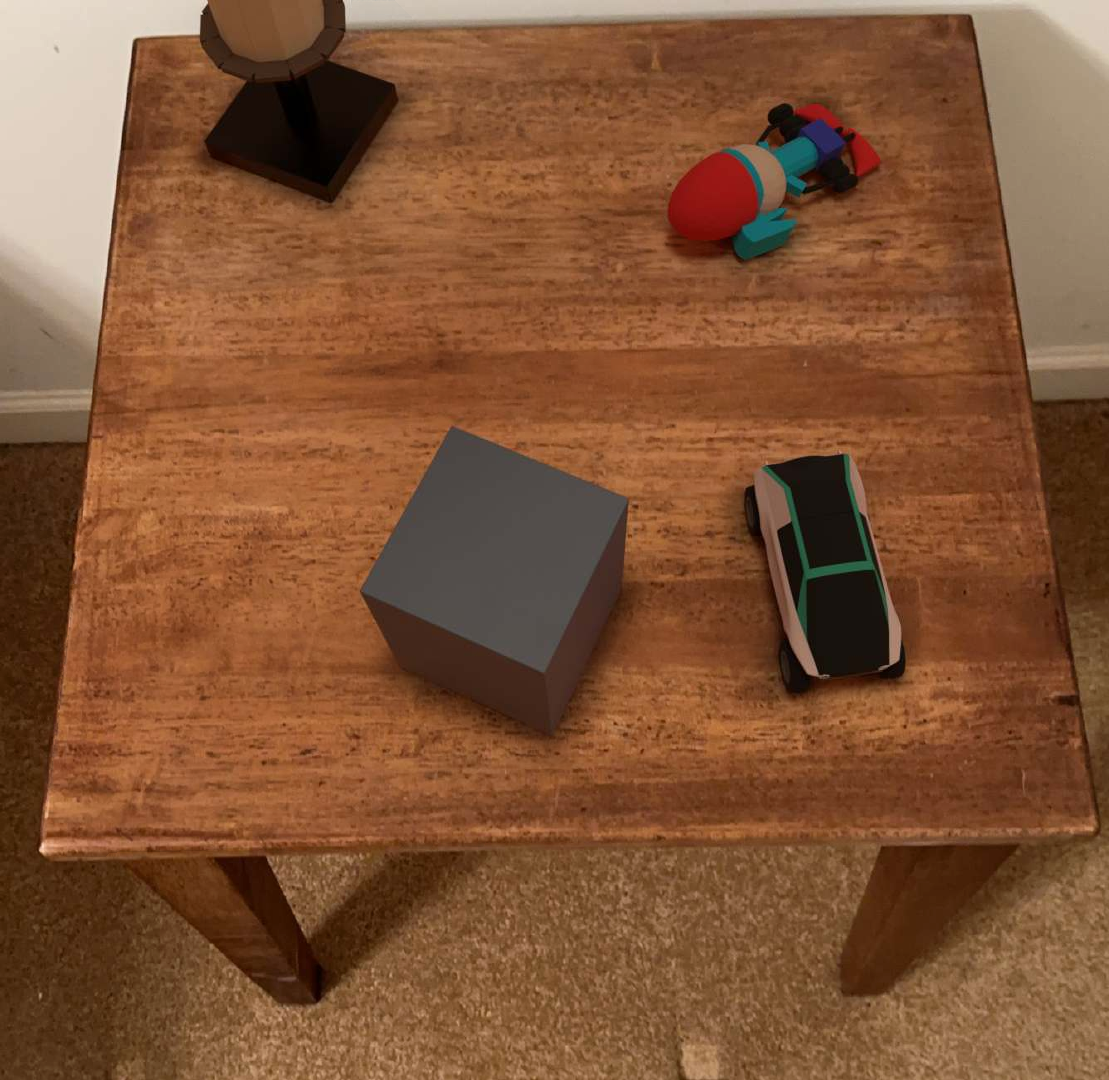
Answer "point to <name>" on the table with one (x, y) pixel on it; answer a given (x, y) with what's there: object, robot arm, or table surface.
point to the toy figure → (766, 180)
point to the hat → (271, 36)
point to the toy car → (824, 571)
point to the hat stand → (304, 127)
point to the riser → (500, 578)
